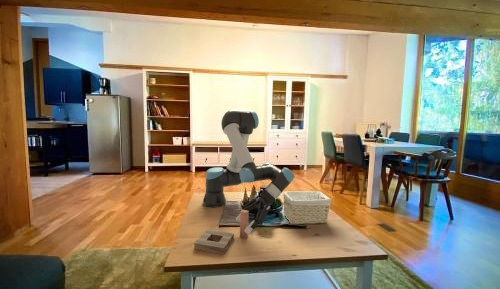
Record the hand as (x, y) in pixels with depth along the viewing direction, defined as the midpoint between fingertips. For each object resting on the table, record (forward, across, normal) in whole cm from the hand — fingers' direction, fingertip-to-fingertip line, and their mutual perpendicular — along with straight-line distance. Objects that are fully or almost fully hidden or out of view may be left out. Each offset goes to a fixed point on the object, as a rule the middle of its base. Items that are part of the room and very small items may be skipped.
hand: (241, 226), depth 128 cm
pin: (+3, 0, -5) cm, 6 cm away
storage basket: (-26, +9, -34) cm, 44 cm away
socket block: (+14, -2, +6) cm, 15 cm away
